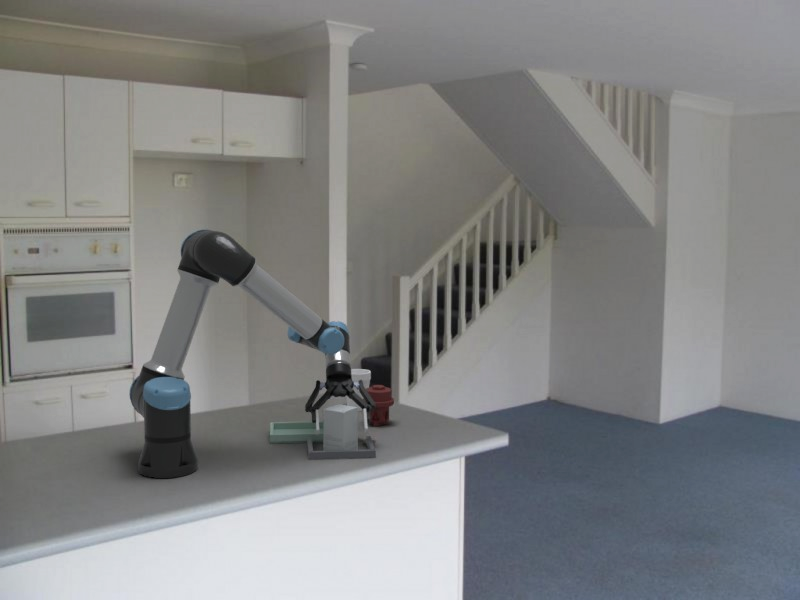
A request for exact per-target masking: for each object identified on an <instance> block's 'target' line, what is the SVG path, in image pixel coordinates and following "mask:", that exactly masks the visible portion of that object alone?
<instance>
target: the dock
mask: <svg viewBox="0 0 800 600" xmlns="http://www.w3.org/2000/svg"><path fill="white" fill-rule="evenodd" d="M365 444H366V447H367V449H358V450H337V451H323V450H314V448H313V443H312V438H307V443H306V445H307V446H306V447H307V454H308V460H309V459H314V460H338V459H339V458H349V459H370V458H369V457H376V453H377V451H376V448H375V445H374V442H373V441H372V438H371V436H370V435H366V436H365ZM363 457H365V458H363ZM339 460H340V459H339Z"/></svg>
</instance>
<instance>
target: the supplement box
mask: <svg viewBox="0 0 800 600" xmlns="http://www.w3.org/2000/svg"><path fill="white" fill-rule="evenodd" d="M322 412H323V413H322V417H323V442H322V444H323V445H322V446H323V448H322V449H323V450H322V451H337V450H359V445H358V444H359V411H358V407H353V406H347V405H345V404H341V403H339V404H334V405H332V406H329V407H326V408H323V409H322Z"/></svg>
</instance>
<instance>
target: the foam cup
mask: <svg viewBox="0 0 800 600" xmlns="http://www.w3.org/2000/svg"><path fill="white" fill-rule="evenodd" d="M351 375H352V381H353V382H359V380H362V381H363V385H364V387H365V389H367V388H369V387H370V384H371V380H372V372H371V370H370V369H363V368H351ZM352 389H353V390H354V392H355V393H356V394H357V395H359V396H360V397H361V398H362V399H363V396H362V395H361V393H360V392H359V390H357V389H356V387H353V388H352ZM345 398H346V399H345V400H346V404H347V405H346V406H353V407H358V412H361V411H362V410H363V409H362V408H361V407H360V406H358V405H357V404H356V403H355V402H354V401H353V400H352V399H350V398H349V397H348V396H345ZM362 412H363V411H362Z"/></svg>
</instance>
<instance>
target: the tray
mask: <svg viewBox="0 0 800 600" xmlns="http://www.w3.org/2000/svg"><path fill="white" fill-rule="evenodd" d="M269 424H270V425H269V444H270V445H271V444H272V445H273V444H277V445H278V444H279V445H280V444H305V443H306V444H307V438H312V444H313V443H314V444H315V443H317V442H318V443H323V421H320V420H319V434H318V435H316V423H312V421H285V422H284V421H274V422H270V423H269ZM318 443H317V444H318Z"/></svg>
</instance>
